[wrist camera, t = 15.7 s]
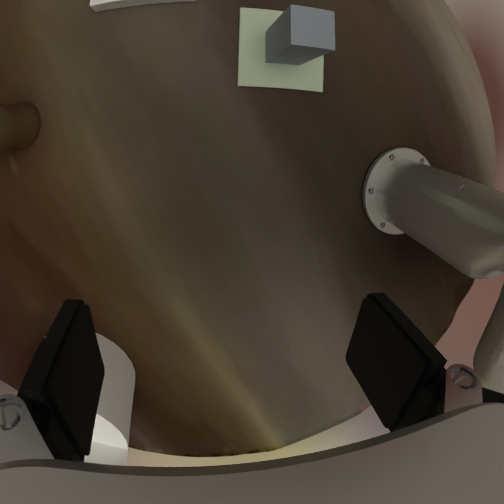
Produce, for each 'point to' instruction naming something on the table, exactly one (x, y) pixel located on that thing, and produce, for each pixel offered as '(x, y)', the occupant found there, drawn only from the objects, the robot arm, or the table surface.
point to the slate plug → (300, 35)
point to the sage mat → (270, 74)
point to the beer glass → (18, 126)
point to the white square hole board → (126, 3)
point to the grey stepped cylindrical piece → (113, 407)
